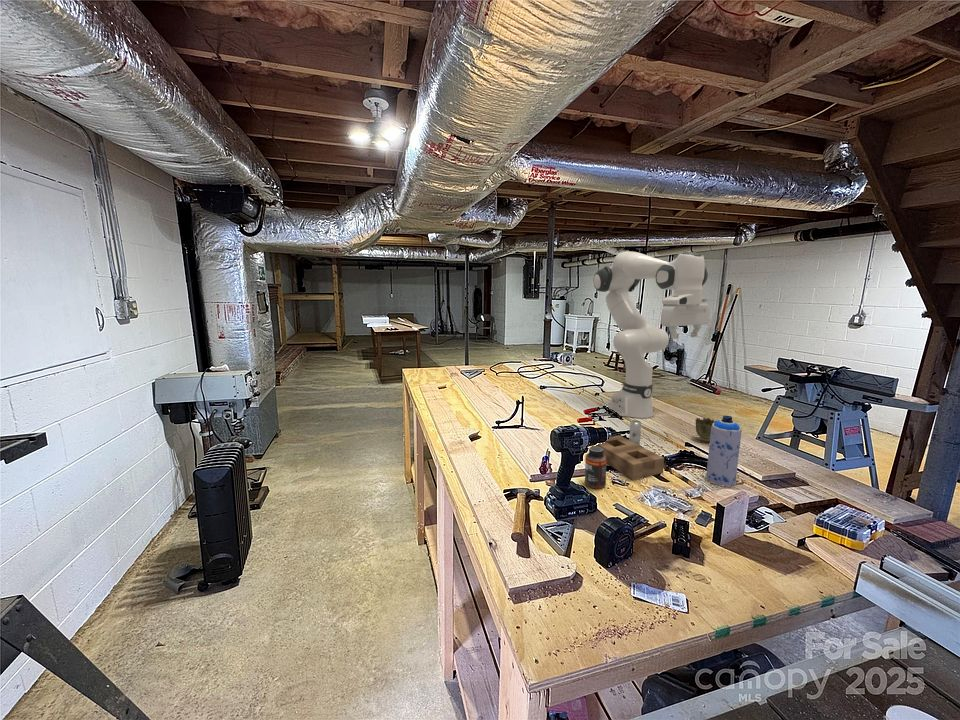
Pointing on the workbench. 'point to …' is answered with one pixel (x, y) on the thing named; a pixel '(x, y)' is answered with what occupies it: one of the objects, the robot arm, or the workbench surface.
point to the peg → (635, 431)
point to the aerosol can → (723, 452)
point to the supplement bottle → (595, 468)
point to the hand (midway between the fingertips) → (684, 338)
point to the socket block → (631, 458)
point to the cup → (704, 428)
